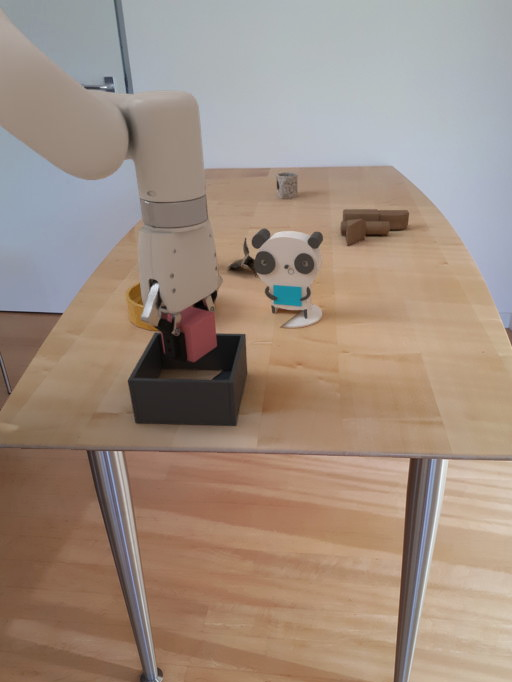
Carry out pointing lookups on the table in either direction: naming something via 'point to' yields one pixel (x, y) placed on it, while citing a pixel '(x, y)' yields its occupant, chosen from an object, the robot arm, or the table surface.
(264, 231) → the panda figurine
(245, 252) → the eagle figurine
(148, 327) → the bowl
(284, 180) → the mug
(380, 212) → the wooden block set
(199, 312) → the block
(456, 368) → the table surface
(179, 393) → the bin
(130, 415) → the table surface
